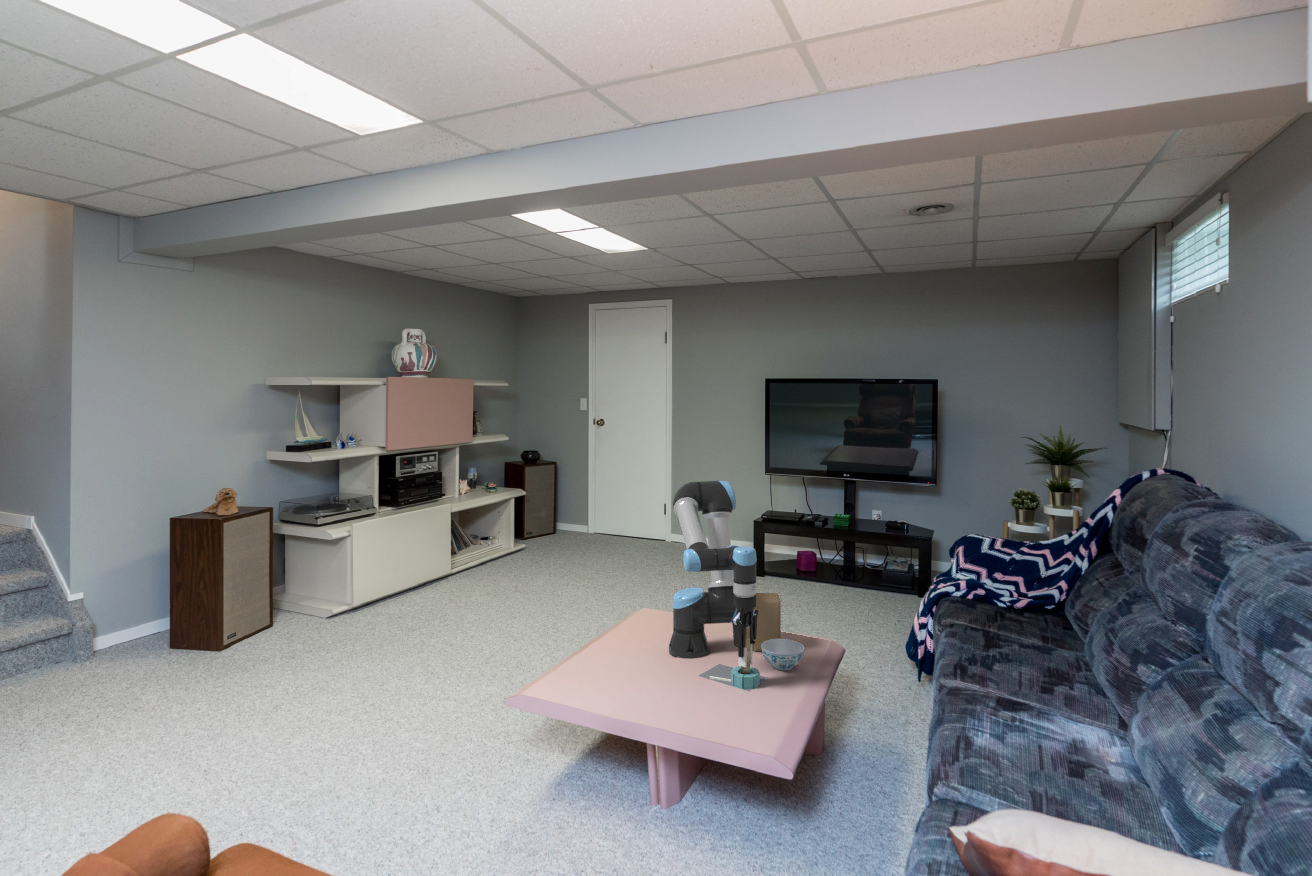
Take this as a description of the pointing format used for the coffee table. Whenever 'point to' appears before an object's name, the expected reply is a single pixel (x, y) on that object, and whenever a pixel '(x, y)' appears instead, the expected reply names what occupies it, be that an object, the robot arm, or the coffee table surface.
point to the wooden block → (767, 618)
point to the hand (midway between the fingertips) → (745, 664)
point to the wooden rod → (747, 644)
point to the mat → (724, 674)
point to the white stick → (720, 678)
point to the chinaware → (782, 653)
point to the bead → (745, 678)
